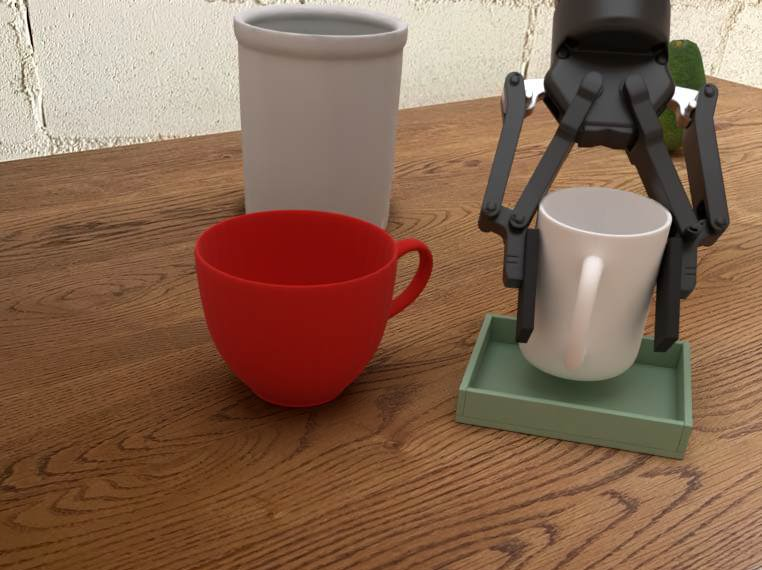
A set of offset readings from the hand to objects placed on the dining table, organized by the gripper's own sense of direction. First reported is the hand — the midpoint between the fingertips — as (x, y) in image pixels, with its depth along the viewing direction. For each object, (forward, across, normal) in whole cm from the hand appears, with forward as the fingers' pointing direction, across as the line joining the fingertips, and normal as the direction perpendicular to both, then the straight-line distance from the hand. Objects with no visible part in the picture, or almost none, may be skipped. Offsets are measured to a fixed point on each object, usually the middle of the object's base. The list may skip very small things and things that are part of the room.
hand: (595, 340), depth 59 cm
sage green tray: (+2, 0, -7) cm, 7 cm away
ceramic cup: (+2, +18, -7) cm, 19 cm away
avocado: (-41, -18, -50) cm, 67 cm away
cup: (0, 0, -5) cm, 5 cm away
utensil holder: (-20, +21, -28) cm, 40 cm away
